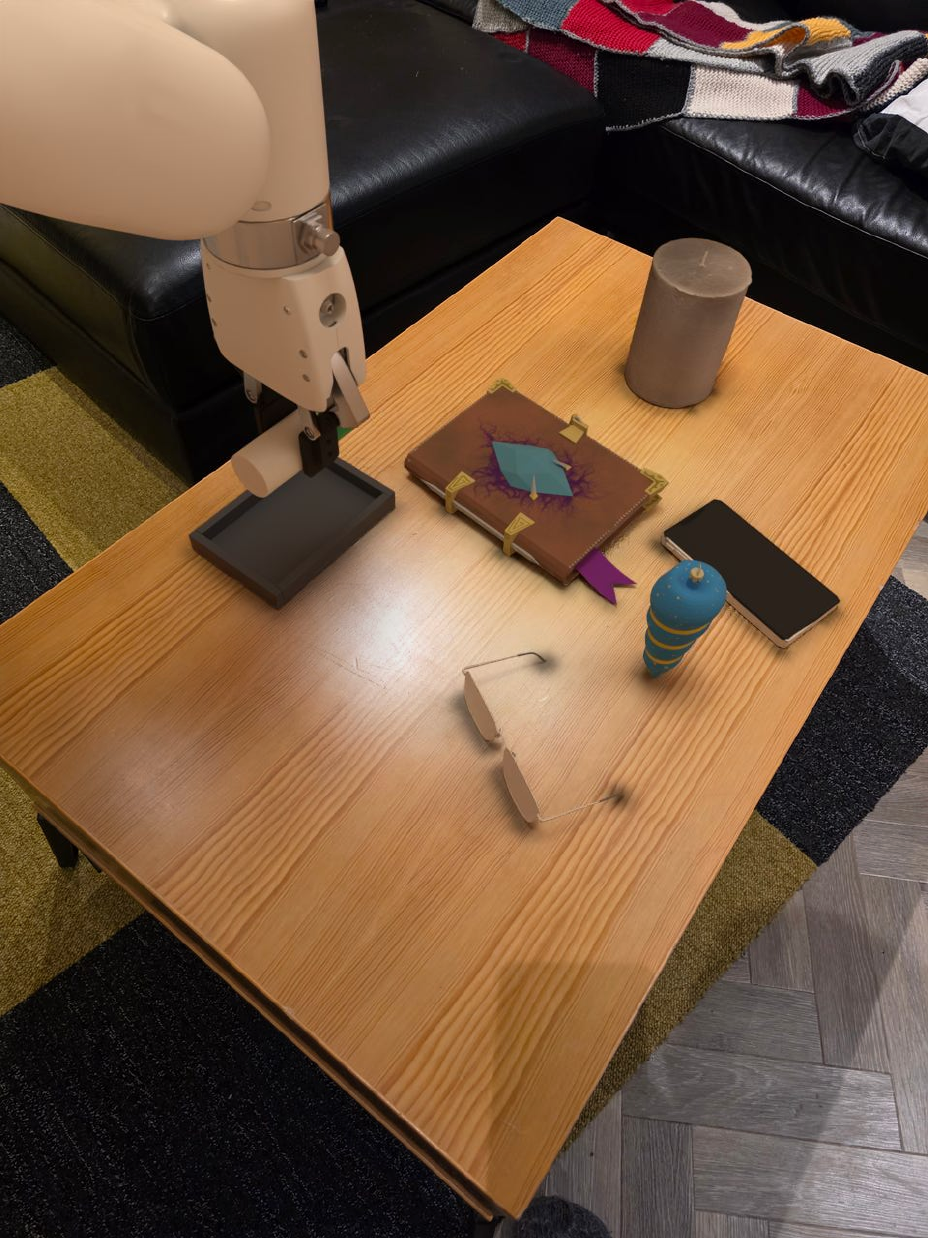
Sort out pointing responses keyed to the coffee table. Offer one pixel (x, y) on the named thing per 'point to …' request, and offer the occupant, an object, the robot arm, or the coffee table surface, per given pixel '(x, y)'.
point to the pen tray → (292, 529)
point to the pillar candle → (686, 321)
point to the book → (537, 484)
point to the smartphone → (752, 572)
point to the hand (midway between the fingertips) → (300, 450)
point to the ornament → (680, 613)
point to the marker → (273, 456)
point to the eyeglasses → (506, 749)
